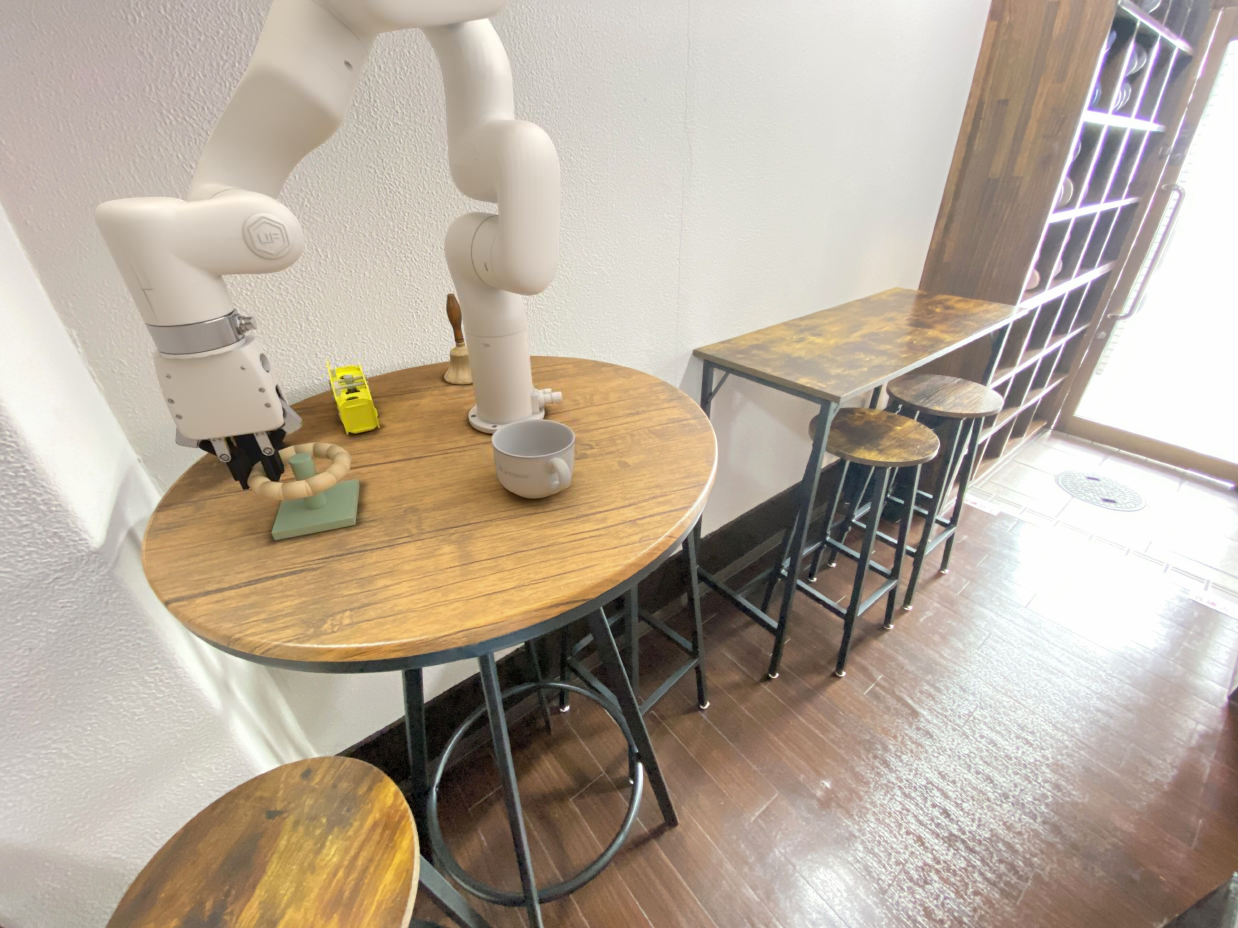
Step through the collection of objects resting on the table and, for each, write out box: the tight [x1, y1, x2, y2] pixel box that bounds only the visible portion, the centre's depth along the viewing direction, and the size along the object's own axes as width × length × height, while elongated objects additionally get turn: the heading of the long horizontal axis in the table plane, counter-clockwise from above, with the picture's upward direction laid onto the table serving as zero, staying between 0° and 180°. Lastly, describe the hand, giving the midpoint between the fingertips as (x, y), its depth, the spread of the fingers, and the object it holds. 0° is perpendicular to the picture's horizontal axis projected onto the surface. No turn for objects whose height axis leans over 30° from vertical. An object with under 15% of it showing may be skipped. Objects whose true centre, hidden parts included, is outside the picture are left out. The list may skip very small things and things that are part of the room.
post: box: [271, 453, 360, 541], centre depth 67 cm, size 9×9×8 cm
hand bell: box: [443, 293, 473, 386], centre depth 101 cm, size 8×8×16 cm
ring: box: [247, 441, 352, 501], centre depth 65 cm, size 11×11×2 cm
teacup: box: [490, 418, 576, 500], centre depth 70 cm, size 14×11×8 cm
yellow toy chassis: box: [325, 359, 381, 436], centre depth 89 cm, size 16×6×8 cm, turn 29°
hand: (262, 480), depth 64 cm, fingers closed on ring, 2 cm apart
